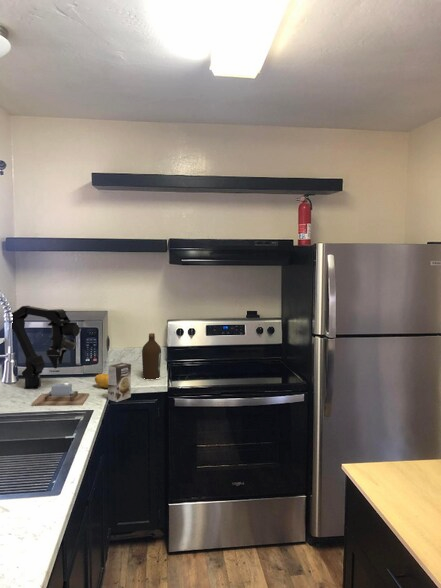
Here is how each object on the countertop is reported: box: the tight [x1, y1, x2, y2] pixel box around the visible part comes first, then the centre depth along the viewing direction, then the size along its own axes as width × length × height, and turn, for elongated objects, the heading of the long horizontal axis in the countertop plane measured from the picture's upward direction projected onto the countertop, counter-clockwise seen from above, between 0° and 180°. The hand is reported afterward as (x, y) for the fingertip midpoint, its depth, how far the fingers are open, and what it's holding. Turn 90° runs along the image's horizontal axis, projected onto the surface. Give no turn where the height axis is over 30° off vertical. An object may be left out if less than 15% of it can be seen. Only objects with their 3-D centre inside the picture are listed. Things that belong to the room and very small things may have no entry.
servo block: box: [48, 382, 76, 396], centre depth 201 cm, size 11×4×7 cm, turn 96°
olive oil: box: [141, 332, 162, 380], centre depth 242 cm, size 11×11×25 cm
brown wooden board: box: [31, 390, 90, 407], centre depth 201 cm, size 22×15×3 cm
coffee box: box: [107, 362, 132, 403], centre depth 205 cm, size 9×6×16 cm
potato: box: [94, 373, 108, 389], centre depth 223 cm, size 7×14×7 cm, turn 68°
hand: (58, 366), depth 217 cm, fingers open, 9 cm apart
